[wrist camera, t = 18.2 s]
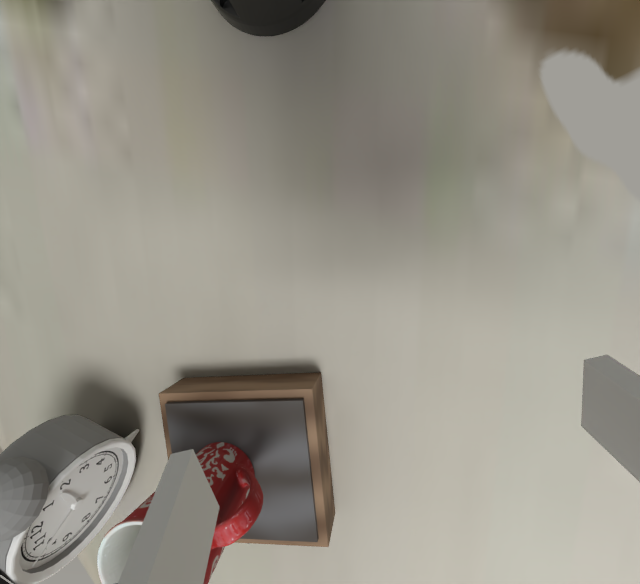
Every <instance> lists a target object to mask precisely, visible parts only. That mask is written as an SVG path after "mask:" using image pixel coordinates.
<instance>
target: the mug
mask: <svg viewBox="0 0 640 584" xmlns="http://www.w3.org/2000/svg"><path fill="white" fill-rule="evenodd" d="M196 456H197V459H198V461H199V463H200V465H201V467H202V469H203V472H204V474H205V476H206V478H207V480H208V483H209V485H210V487H211V489H212V491H213V493H214V496H215V498H216V500H217V502H218V504H219V512H218V517H217V522H216V526H215V531H214V536H213V540H212V545H211V550H210V554H209V559H208V564H207V569H206V573H205V578H204V583H203V584H208V582H209V580H210V578H211V575H212V573H213V571H214V569H215V567H216V565H217V563H218V561H219V558H220V556H221V554H222V552H223V550H224V547H225V546H228V545H230V544H232V543H234V542H235V541H237V540H238V539H240V538H241V537H242V536H243V535H244V534H245V533H247V532H248V531H249V529H250V528H251V527H252V526H253V524H254V523H255V521H256V520H257V518H258V516H259V514H260V512H261V509H262V505H263V492H262V489H261V487H260V485H259V483H258V481H257V479H256V478H255V474H254V469H253V466H252V463H251V461H250V459H249V458H248V456H247V455H246V454H245V453H244V452H243V451H242V450H241V449H239V448H238V447H236V446H234V445H232V444H229V443H225V442H215V443H211V444H208V445H206V446H205V447H204V448H202V449H201V450H200V451H199V452H198V453H197V454H196ZM154 494H155V492H154V493H153V494H152V495H151V496H150V497H149V498H148V499H146V500H145V501H144V502H143V503H142V504H141V505H140V506H139V507H138V508H137V509H136V510H134V511H133V512H132V513H131V514H130V515H129V516H128V517H127V518H126V519H125V520H123V521H122V522H121V523H119V524H117V525H115V526H114V527H113V528H112V529H110V530H109V531H108V533H107V534H106V535H105V536H104V538H103V540H102V542H101V544H100V546H99V551H98V558H97V566H98V573H99V577H100V581H101V583H102V584H116V583H118V582H119V579H120V577H121V574H122V572H123V569H124V567H125V565H126V562H127V560H128V557H129V555H130V552H131V550H132V548H133V545H134V543H135V540H136V538H137V535H138V533H139V530H140V528H141V526H142V523H143V521H144V518H145V516H146V513H147V511H148V509H149V506H150V504H151V501H152V499H153V496H154Z"/></svg>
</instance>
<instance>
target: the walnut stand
mask: <svg viewBox="0 0 640 584" xmlns="http://www.w3.org/2000/svg"><path fill="white" fill-rule="evenodd" d="M159 398H160V405H161V412H162V419H163V426H164V433H165V440H166V447H167V454H168V460H169V457H170V455H171V454H173V453H178V452H182V451H186V450H191V449H193V450H194V452H195V454H197V453H198V452H199V451H200V450H201V449H202V448H204V447H205V446H206V445H208V444H211V443H215V442H225V443H229V444H232V445H234V446H236V447H238V448H239V449H241V450H242V451H243V452H244V453H245V454H246V455H247V456H248V458H249V459H250V461H251V463H252V466H253V469H254V474H255V478H256V479H257V481H258V483H259V485H260V487H261V489H262V492H263V505H262V509H261V512H260V514H259V516H258V518H257V520H256V521H255V523H254V524H253V526H252V527H251V528H250V529H249V531H248V532H247V533H245V534H244V535H243V536H242V537H241V538H240V539H238V540H237V541H235V542H238V543H258V544H279V545H299V546H319V547H328V546H329V541H330V536H331V531H332V526H333V521H334V516H335V507H334V497H333V487H332V477H331V467H330V457H329V447H328V437H327V427H326V417H325V407H324V397H323V387H322V377H321V372H319V373H294V374H269V375H243V376H218V377H193V378H183V379H181V380H180V381H178V382H177V383H175V384H173V385H172V386H170V387H169V388H167V389H165V390H164V391H162V392H161V393H159Z"/></svg>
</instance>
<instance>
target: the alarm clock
mask: <svg viewBox="0 0 640 584" xmlns="http://www.w3.org/2000/svg"><path fill="white" fill-rule="evenodd" d="M138 432H139V429H136V430H135V431H133V432H132V433H131V434H130V435H128V436H127V437H126V438H122V437H121V436H119V435H117V434H115V433H113V432H111V431H110V430H108V429H106V428H104V427H102V426H100V425H99V424H97V423H95V422H93V421H91V420H89V419H88V418H85V417H83V416H80V415H63V416H60V417H57V418H54V419H51V420H48V421H46V422H44V423H42V424H40V425H39V426H37V427H35V428H33V429H31V430H30V431H28V432H27V433H25V434H24V435H23V436H21V437H20V438H19V439H17V440H16V441H15V442H13V443H12V444H11V445H10V446H9V447H7V448H6V449H5V450H4V451H3V452H2V453H1V454H0V575H2V576H4V577H5V578H6V579H8V580H9V581H11V582H12V583H14V584H37V583H39V582H41V581H43V580H45V579H46V578H48V577H50V576H52V575H54V574H55V573H56V572H58V571H59V570H60V569H62V568H63V567H64V566H66V565H67V564H68V563H69V562H71V561H72V560H73V559H74V558H75V557H76V556H77V555H78V554H79V553H80V552H81V551H82V550H83V549H84V548H85V547H86V546H87V545H88V544H89V543H90V541H91V540H92V539H93V538H94V537H95V536H96V535H97V534H98V532H99V531H100V530H101V528H102V527H103V526H104V524H105V523H106V522H107V520H108V519H109V518H110V516H111V515H112V513H113V512H114V510H115V509H116V507H117V506H118V504H119V502H120V501H121V499H122V497H123V495H124V493H125V491H126V489H127V487H128V485H129V483H130V480H131V477H132V475H133V472H134V468H135V463H136V451H135V448H134V446H133V445H132V443H131V442H132V440H133V439H134V438H135V436H136V435H137V433H138ZM0 584H9V583H8V582H6V581H5V580H3V579H2V578H1V577H0Z"/></svg>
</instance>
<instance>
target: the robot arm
mask: <svg viewBox="0 0 640 584" xmlns="http://www.w3.org/2000/svg"><path fill="white" fill-rule="evenodd" d="M211 1H212V2H213V4H214V5H215V7H216V8H217V10H218V11H219V12H220V14H221V15H222V16H223V17H224V18H225V19H226V20H227V21H228V22H229V23H230V24H231V25H233V26H234V27H236V28H237V29H239V30H241V31H243V32H246V33H249V34H253V35H258V36H273V35H278V34H282V33H285V32H288V31H290V30H293V29H295V28H297V27H298V26H300V25H301V24H303V23H304V22H306V21H307V20H308V19H309V18H310V17H311V16H313V15H314V14H315V12H316V11H317V10H318V9H319V8H320V7H321V5H322V4H323V2H324V1H325V0H211ZM581 426H582V427H583V428H584V429H585V430H586V431H587V432H588V433H589V434H590V435H591V436H592V437H593V438H594V439H595V440H596V441H597V442H598V443H599V444H601V445H602V446H603V447H604V448H605V449H606V450H607V451H608V452H609V453H610V454H611V455H612V456H613V457H614V458H615V459H616V460H617V461H618V462H619V463H620V464H621V465H622V466H623V467H624V468H625V469H627V470H628V471H629V472H630V473H631V474H632V475H633V476H634V477H635V478H636V479H637V480H638V481H639V482H640V376H639V375H638V374H636V373H635V372H633V371H632V370H630V369H629V368H627V367H626V366H624V365H622V364H621V363H619V362H618V361H616V360H615V359H613V358H612V357H610V356H609V355H604V356H599V357H595V358H590V359H586V360H584V371H583V395H582V419H581ZM218 512H219V504H218V502H217V500H216V498H215V496H214V493H213V491H212V489H211V487H210V485H209V483H208V480H207V478H206V476H205V474H204V472H203V469H202V467H201V465H200V463H199V461H198V459H197V456H196V454H195V452H194V450H193V449H191V450H186V451H182V452H178V453H173V454H171V455H170V457H169V460H168V462H167V465H166V467H165V470H164V472H163V474H162V477H161V479H160V482H159V484H158V487H157V489H156V491H155V494H154V496H153V499H152V501H151V504H150V506H149V509H148V511H147V513H146V516H145V518H144V521H143V523H142V526H141V528H140V530H139V533H138V535H137V538H136V540H135V543H134V545H133V548H132V550H131V552H130V555H129V557H128V560H127V562H126V565H125V567H124V569H123V572H122V574H121V577H120V579H119V582H118V583H116V584H203V583H204V578H205V573H206V569H207V564H208V559H209V554H210V550H211V545H212V540H213V536H214V531H215V526H216V522H217V517H218Z"/></svg>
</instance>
